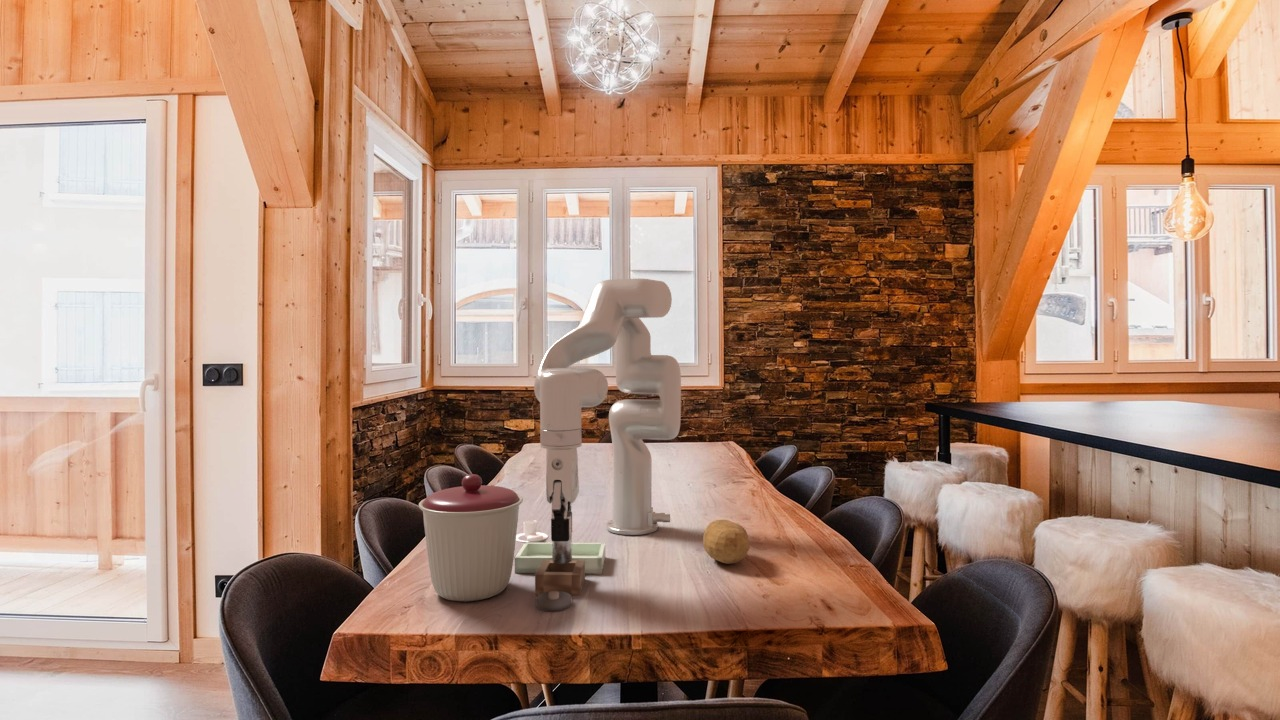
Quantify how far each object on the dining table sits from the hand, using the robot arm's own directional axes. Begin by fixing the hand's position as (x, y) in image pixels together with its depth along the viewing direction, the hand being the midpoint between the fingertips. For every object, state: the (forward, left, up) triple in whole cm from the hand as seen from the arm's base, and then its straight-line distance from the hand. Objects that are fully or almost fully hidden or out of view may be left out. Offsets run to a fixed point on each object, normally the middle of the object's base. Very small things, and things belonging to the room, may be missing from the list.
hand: (561, 536), depth 117 cm
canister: (+16, +3, -9) cm, 19 cm away
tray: (+2, -12, -9) cm, 15 cm away
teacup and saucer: (+13, -28, -10) cm, 33 cm away
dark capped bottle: (0, 0, -5) cm, 5 cm away
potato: (-32, -14, -9) cm, 36 cm away
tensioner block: (0, +4, -9) cm, 10 cm away
